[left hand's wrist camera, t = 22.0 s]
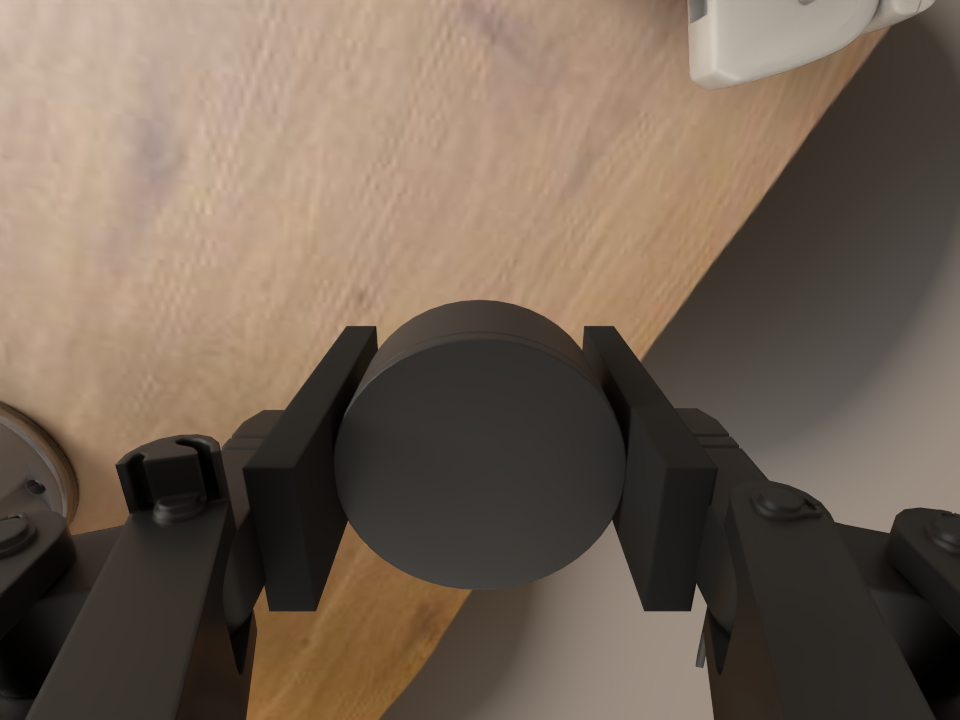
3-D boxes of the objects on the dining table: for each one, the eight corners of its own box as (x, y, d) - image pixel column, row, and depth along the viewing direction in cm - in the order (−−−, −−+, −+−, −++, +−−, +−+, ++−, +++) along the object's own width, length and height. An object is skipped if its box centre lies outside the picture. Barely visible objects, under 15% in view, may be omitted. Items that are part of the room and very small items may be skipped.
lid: (335, 316, 11) (298, 360, 9) (592, 283, 11) (622, 319, 9) (386, 524, 13) (366, 603, 11) (605, 500, 13) (632, 575, 11)
